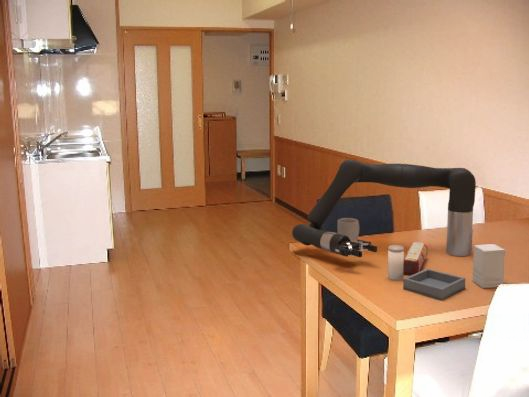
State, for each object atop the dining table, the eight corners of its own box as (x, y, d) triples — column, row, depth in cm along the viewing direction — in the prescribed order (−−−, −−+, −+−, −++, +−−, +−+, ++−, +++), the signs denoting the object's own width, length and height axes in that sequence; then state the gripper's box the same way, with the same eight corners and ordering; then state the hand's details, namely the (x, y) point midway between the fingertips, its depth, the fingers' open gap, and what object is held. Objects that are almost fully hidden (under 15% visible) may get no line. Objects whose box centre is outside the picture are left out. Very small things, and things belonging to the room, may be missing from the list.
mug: (350, 250, 222) (350, 223, 220) (333, 246, 228) (333, 220, 226) (366, 243, 231) (367, 218, 229) (350, 240, 237) (350, 215, 234)
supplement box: (503, 287, 178) (506, 249, 175) (481, 288, 177) (483, 251, 175) (492, 279, 185) (494, 243, 182) (471, 280, 184) (473, 244, 182)
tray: (427, 278, 188) (427, 268, 187) (465, 288, 178) (465, 278, 177) (403, 288, 179) (403, 278, 178) (441, 300, 169) (442, 289, 168)
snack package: (419, 277, 190) (420, 258, 188) (400, 275, 192) (400, 256, 191) (427, 259, 209) (428, 242, 207) (409, 257, 211) (410, 240, 210)
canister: (393, 274, 193) (394, 244, 191) (406, 277, 189) (407, 247, 187) (384, 277, 190) (385, 247, 187) (397, 281, 186) (397, 250, 183)
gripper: (322, 237, 203) (356, 246, 191) (347, 229, 212) (381, 238, 200) (322, 256, 204) (356, 266, 192) (347, 248, 214) (381, 257, 202)
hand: (369, 252), depth 196 cm, fingers open, 8 cm apart
